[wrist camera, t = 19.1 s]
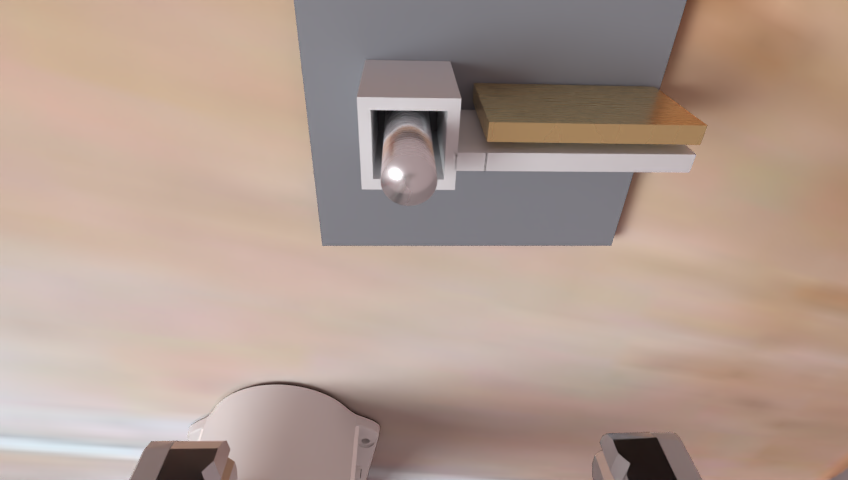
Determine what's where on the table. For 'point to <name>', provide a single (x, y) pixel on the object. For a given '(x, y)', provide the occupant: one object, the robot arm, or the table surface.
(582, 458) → the table surface
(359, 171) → the hinge base
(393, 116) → the pin
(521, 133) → the bar
